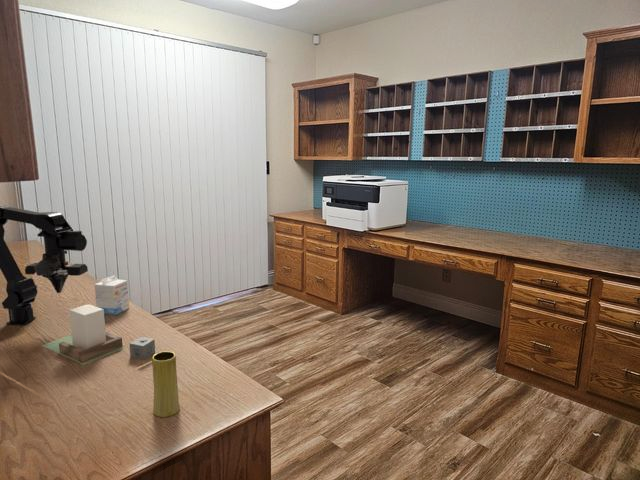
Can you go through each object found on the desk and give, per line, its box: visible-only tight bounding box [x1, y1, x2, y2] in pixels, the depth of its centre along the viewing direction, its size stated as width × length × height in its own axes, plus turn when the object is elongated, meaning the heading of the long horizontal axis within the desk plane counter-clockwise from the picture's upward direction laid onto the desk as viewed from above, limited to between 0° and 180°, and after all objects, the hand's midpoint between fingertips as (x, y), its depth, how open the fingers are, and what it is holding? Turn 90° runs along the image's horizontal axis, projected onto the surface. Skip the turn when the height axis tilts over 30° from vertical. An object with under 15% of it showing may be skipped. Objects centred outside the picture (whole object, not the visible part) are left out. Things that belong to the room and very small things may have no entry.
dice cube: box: [129, 336, 156, 361], centre depth 131 cm, size 5×5×5 cm
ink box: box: [94, 275, 130, 316], centre depth 166 cm, size 9×8×13 cm
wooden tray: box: [59, 331, 124, 363], centre depth 134 cm, size 12×13×3 cm
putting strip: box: [40, 334, 127, 366], centre depth 136 cm, size 23×14×1 cm, turn 59°
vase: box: [151, 350, 181, 418], centre depth 103 cm, size 6×6×14 cm
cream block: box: [68, 303, 106, 350], centre depth 133 cm, size 8×6×13 cm
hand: (59, 292), depth 151 cm, fingers closed
